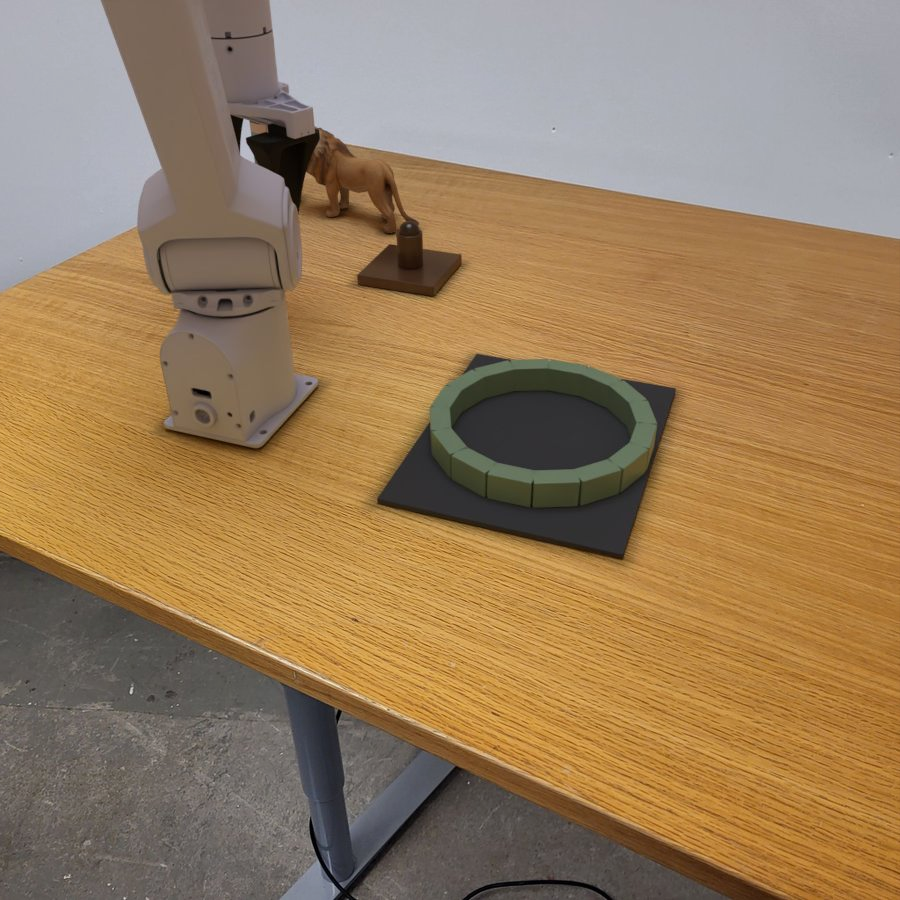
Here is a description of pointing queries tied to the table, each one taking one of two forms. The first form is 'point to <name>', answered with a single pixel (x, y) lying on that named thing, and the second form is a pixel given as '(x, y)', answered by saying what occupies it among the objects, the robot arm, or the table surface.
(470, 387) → the ring
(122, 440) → the table surface
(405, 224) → the peg stand
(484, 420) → the mat
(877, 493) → the table surface
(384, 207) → the lion figurine
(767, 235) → the table surface
